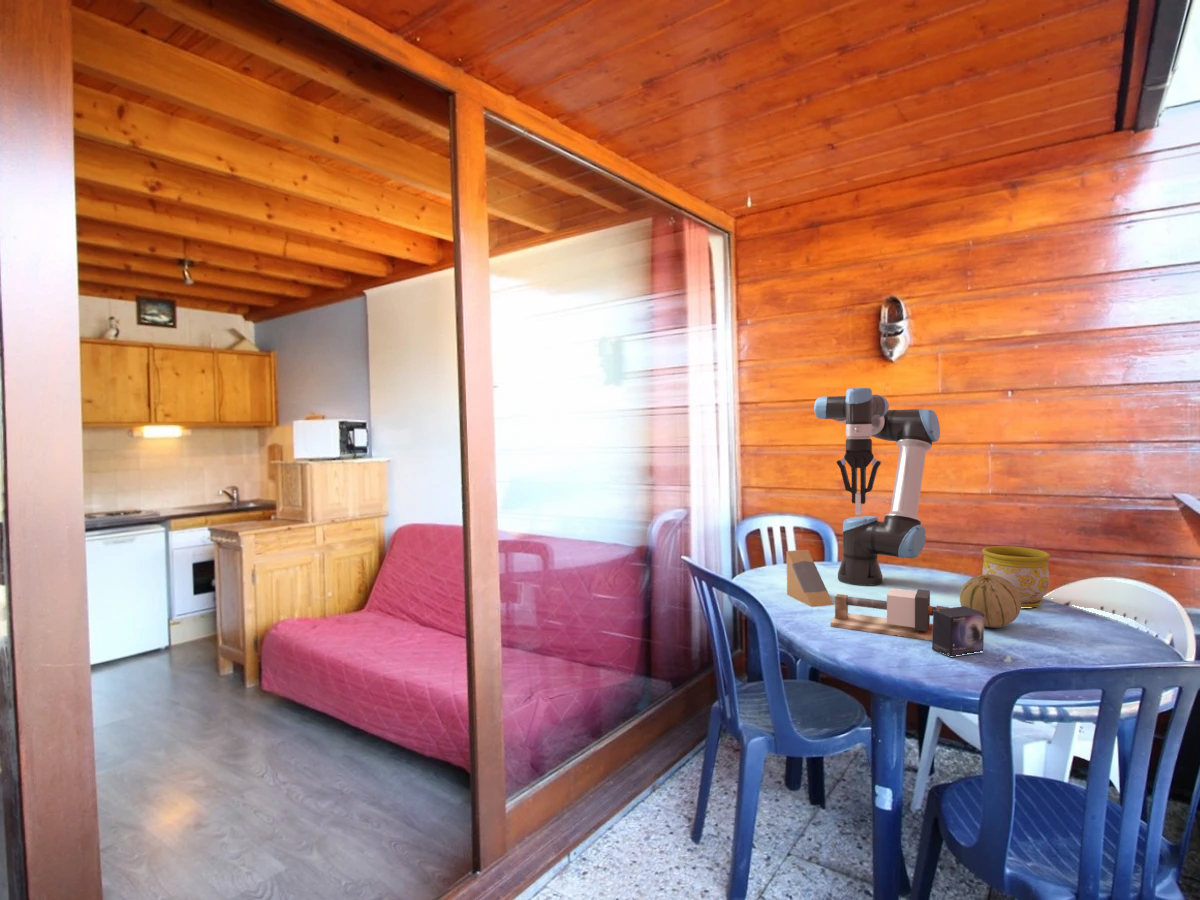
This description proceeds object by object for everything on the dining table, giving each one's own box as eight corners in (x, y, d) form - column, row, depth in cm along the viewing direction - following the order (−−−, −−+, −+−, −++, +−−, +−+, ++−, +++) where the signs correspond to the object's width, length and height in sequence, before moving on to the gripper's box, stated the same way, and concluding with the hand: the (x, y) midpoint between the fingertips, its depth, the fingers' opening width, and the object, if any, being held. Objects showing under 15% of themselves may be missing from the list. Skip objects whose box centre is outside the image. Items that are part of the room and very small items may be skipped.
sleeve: (886, 623, 178) (887, 595, 178) (890, 615, 185) (890, 588, 184) (915, 627, 174) (915, 598, 174) (917, 619, 181) (917, 591, 181)
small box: (951, 658, 159) (951, 616, 158) (930, 649, 165) (931, 609, 164) (985, 653, 162) (985, 612, 161) (963, 645, 168) (964, 605, 167)
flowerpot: (1038, 615, 191) (1039, 560, 190) (972, 602, 204) (972, 551, 204) (1057, 603, 202) (1058, 551, 201) (994, 592, 216) (994, 543, 215)
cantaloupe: (1019, 622, 184) (1020, 570, 184) (1022, 638, 172) (1023, 582, 171) (960, 615, 192) (960, 565, 191) (958, 629, 179) (959, 576, 179)
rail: (830, 626, 184) (830, 599, 184) (837, 615, 194) (837, 590, 193) (949, 643, 169) (950, 614, 169) (951, 631, 178) (951, 603, 178)
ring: (914, 629, 174) (915, 597, 174) (917, 620, 182) (917, 589, 181) (927, 631, 172) (927, 598, 172) (929, 622, 180) (929, 590, 180)
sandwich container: (811, 607, 203) (810, 560, 202) (785, 594, 218) (785, 550, 217) (835, 605, 205) (835, 558, 204) (808, 592, 220) (808, 549, 219)
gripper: (834, 438, 199) (834, 514, 200) (879, 438, 192) (879, 517, 193) (838, 437, 205) (838, 511, 207) (883, 437, 199) (883, 513, 200)
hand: (858, 514), depth 200 cm, fingers closed
